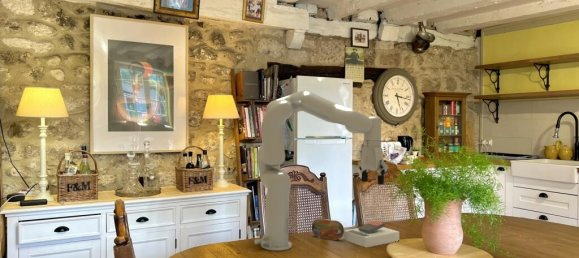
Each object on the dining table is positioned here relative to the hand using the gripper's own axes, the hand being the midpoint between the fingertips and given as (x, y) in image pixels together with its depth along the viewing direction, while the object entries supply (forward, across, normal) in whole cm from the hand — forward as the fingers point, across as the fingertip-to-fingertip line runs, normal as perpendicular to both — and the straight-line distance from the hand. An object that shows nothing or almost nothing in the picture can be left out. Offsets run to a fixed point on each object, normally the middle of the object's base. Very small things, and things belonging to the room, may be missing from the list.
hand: (372, 182), depth 189 cm
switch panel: (+25, +1, -2) cm, 25 cm away
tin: (+25, -11, -17) cm, 32 cm away
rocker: (+19, +1, -2) cm, 19 cm away
